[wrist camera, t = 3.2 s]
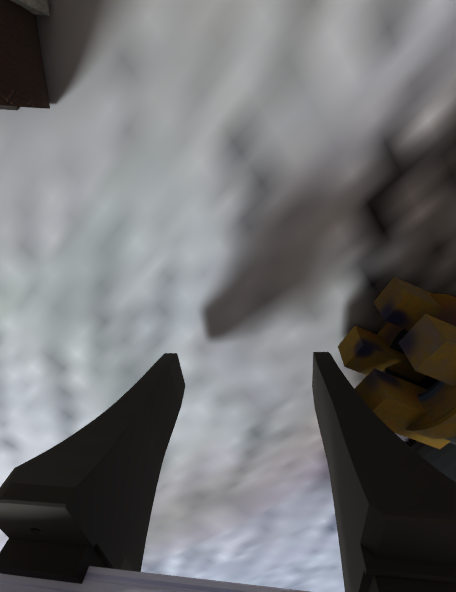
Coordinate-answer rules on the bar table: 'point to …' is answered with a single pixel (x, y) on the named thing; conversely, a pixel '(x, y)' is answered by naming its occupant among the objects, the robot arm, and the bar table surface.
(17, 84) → the book
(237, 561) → the bar table surface
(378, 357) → the pipe connector
